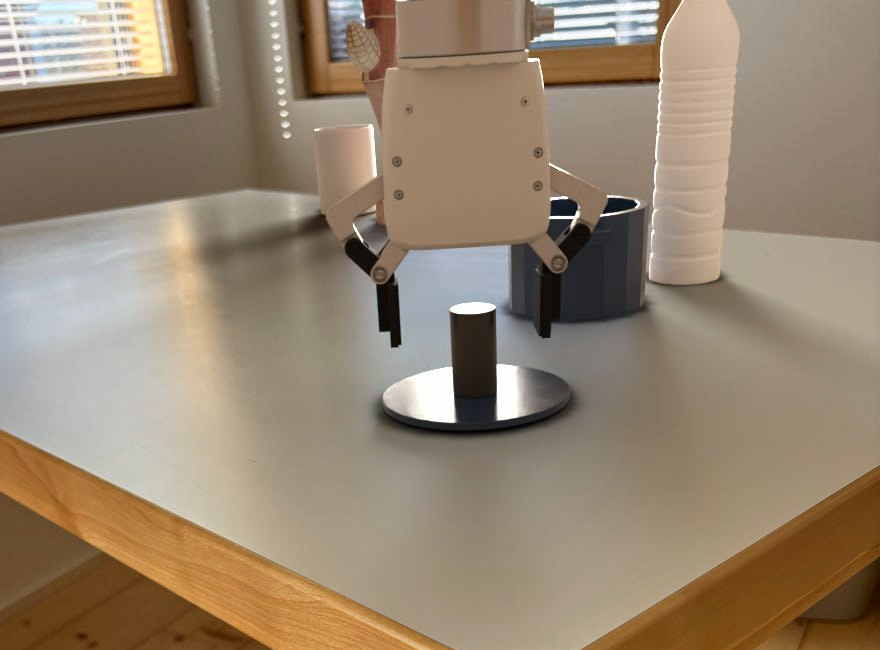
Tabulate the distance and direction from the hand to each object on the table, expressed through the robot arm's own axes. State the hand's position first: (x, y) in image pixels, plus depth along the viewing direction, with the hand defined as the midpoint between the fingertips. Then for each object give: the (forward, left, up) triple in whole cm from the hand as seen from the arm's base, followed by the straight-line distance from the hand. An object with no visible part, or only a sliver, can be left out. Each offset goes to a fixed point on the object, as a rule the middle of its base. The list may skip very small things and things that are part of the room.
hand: (468, 337), depth 67 cm
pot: (-11, -25, -5) cm, 28 cm away
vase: (+4, -80, -5) cm, 80 cm away
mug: (+11, -94, -5) cm, 95 cm away
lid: (0, 0, -4) cm, 4 cm away
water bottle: (-23, -34, -5) cm, 42 cm away
